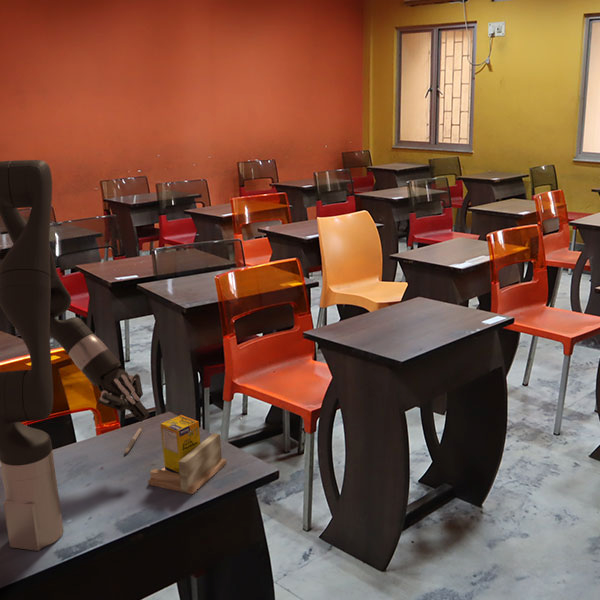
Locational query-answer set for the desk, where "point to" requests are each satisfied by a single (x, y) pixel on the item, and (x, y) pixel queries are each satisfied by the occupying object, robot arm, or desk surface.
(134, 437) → the pen
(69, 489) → the desk surface
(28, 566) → the desk surface
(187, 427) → the supplement box
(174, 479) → the backstop pocket
